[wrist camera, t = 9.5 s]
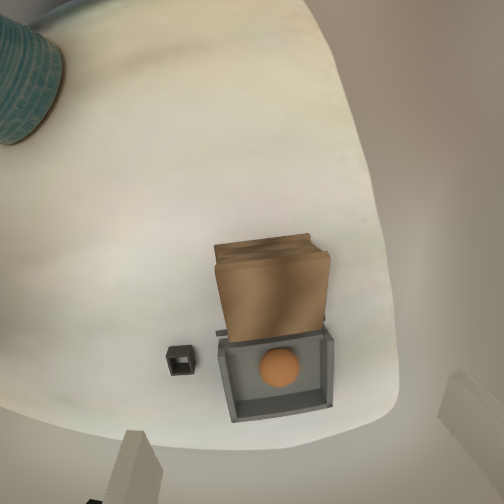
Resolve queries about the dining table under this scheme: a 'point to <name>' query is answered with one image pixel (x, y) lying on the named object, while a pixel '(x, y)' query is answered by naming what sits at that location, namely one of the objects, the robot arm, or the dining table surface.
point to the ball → (279, 367)
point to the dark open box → (180, 367)
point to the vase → (25, 79)
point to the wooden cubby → (272, 286)
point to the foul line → (224, 332)
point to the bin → (277, 398)
